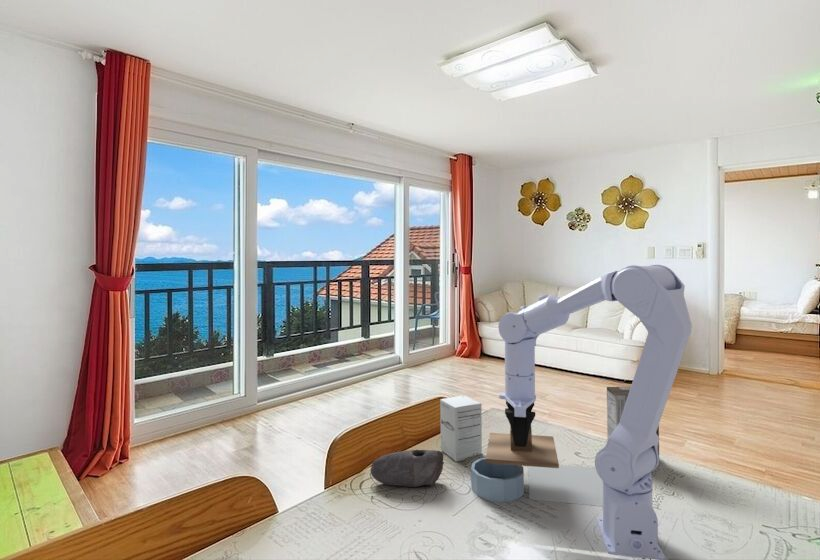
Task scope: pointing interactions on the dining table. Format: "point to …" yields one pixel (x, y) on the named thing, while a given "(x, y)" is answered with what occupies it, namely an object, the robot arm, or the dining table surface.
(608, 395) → the coffee box
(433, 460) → the perforated stone tool
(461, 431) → the supplement box
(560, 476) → the mat
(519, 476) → the bowl
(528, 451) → the lid
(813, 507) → the dining table surface
